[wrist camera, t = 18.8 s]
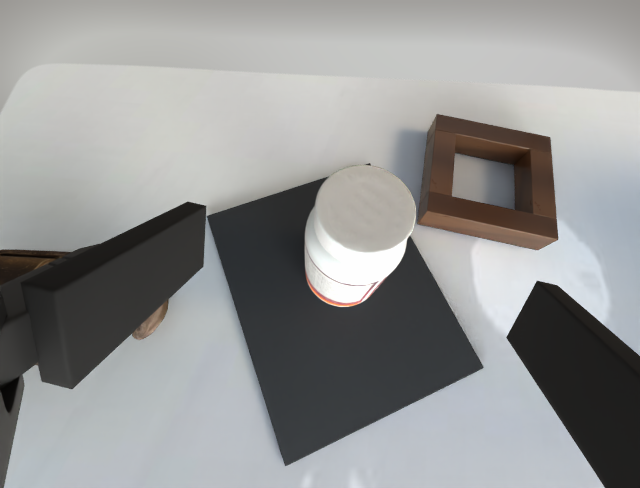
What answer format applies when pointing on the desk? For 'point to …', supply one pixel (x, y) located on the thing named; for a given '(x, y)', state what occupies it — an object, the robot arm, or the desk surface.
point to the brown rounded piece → (19, 262)
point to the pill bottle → (356, 233)
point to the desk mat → (332, 329)
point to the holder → (479, 218)
